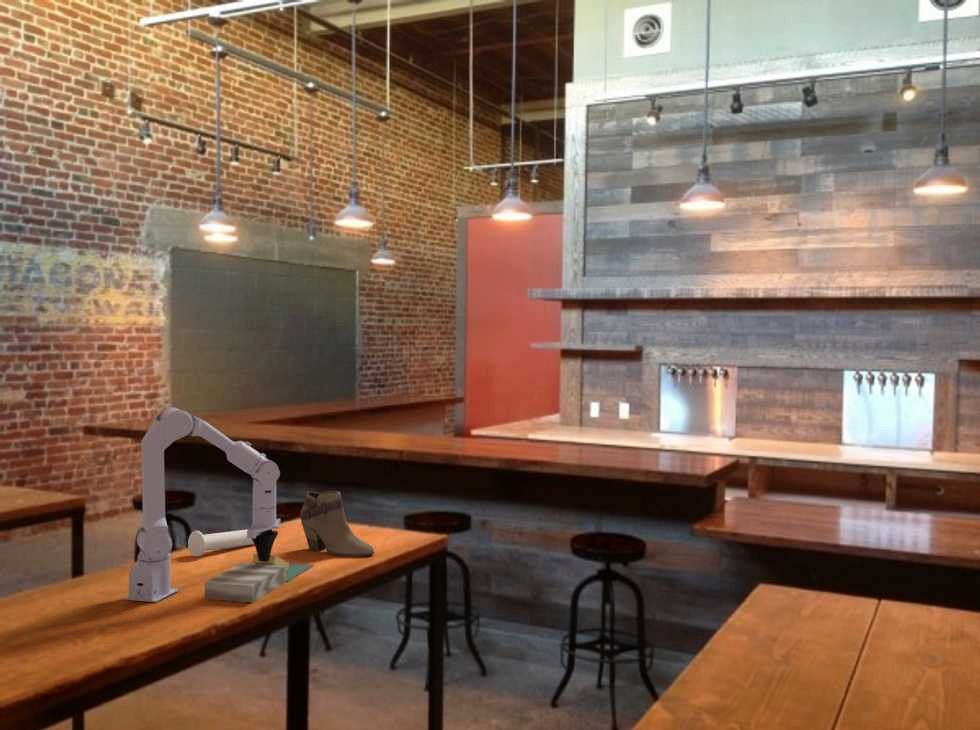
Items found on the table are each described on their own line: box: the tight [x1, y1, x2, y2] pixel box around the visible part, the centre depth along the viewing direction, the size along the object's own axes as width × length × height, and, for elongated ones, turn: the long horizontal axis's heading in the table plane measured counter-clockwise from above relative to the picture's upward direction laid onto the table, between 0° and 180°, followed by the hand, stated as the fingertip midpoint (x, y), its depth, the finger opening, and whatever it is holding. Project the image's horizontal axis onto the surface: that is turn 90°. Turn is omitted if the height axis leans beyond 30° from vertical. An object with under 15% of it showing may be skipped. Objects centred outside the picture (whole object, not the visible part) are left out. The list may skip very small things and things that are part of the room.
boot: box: [299, 490, 375, 558], centre depth 247 cm, size 8×24×17 cm, turn 72°
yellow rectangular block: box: [251, 553, 290, 571], centre depth 222 cm, size 9×6×2 cm, turn 168°
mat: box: [285, 562, 314, 583], centre depth 225 cm, size 16×13×1 cm
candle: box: [187, 528, 254, 558], centre depth 249 cm, size 7×7×25 cm
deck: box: [204, 562, 287, 604], centre depth 209 cm, size 18×12×4 cm, turn 169°
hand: (263, 560), depth 217 cm, fingers closed
